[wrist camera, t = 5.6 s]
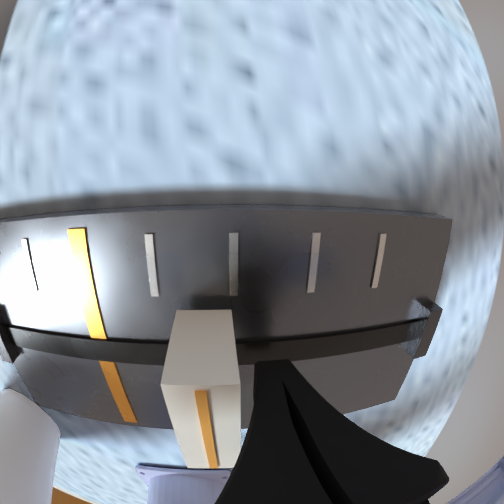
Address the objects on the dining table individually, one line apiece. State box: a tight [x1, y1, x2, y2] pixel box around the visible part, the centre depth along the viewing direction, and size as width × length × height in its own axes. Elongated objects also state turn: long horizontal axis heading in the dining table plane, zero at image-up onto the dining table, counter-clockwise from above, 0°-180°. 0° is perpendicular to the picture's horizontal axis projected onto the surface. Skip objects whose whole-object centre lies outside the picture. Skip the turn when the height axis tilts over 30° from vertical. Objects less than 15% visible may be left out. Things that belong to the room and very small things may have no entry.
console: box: [0, 205, 452, 429], centre depth 11 cm, size 12×24×2 cm, turn 89°
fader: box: [161, 310, 241, 468], centre depth 9 cm, size 5×2×4 cm, turn 179°
